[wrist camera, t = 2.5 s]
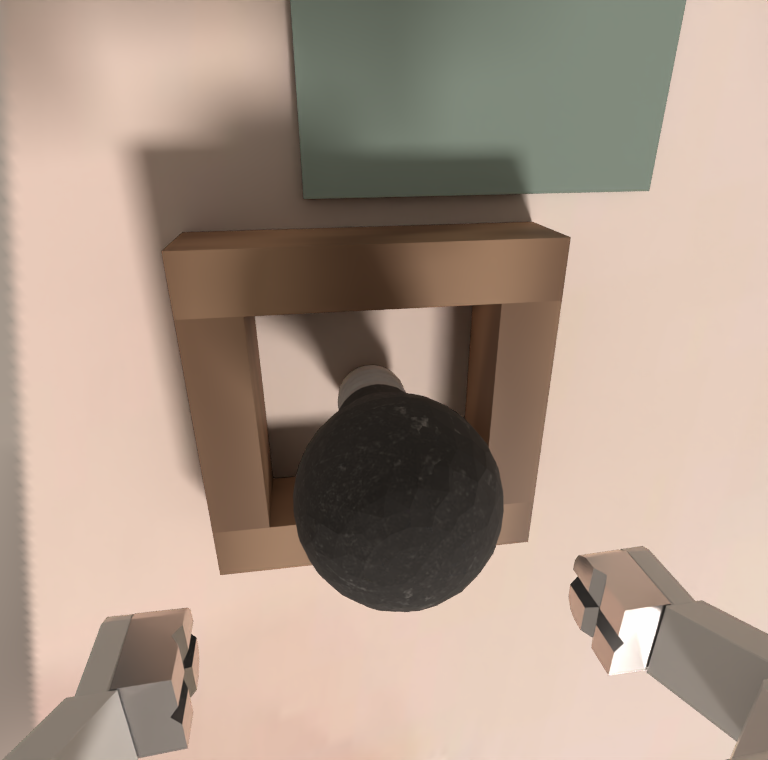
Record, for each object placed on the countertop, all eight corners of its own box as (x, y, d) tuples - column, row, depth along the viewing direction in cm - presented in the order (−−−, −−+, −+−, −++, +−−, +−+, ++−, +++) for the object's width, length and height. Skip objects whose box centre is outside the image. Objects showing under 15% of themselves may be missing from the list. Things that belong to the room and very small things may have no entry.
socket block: (532, 221, 19) (570, 237, 16) (502, 495, 24) (527, 541, 22) (182, 232, 18) (161, 251, 15) (229, 521, 23) (220, 575, 20)
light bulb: (454, 416, 22) (560, 614, 13) (328, 465, 22) (347, 694, 13) (412, 293, 20) (508, 434, 11) (269, 349, 20) (245, 534, 11)
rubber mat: (714, -192, 15) (725, -200, 14) (642, 189, 19) (649, 191, 19) (275, -225, 13) (274, -233, 13) (303, 197, 18) (303, 198, 17)
